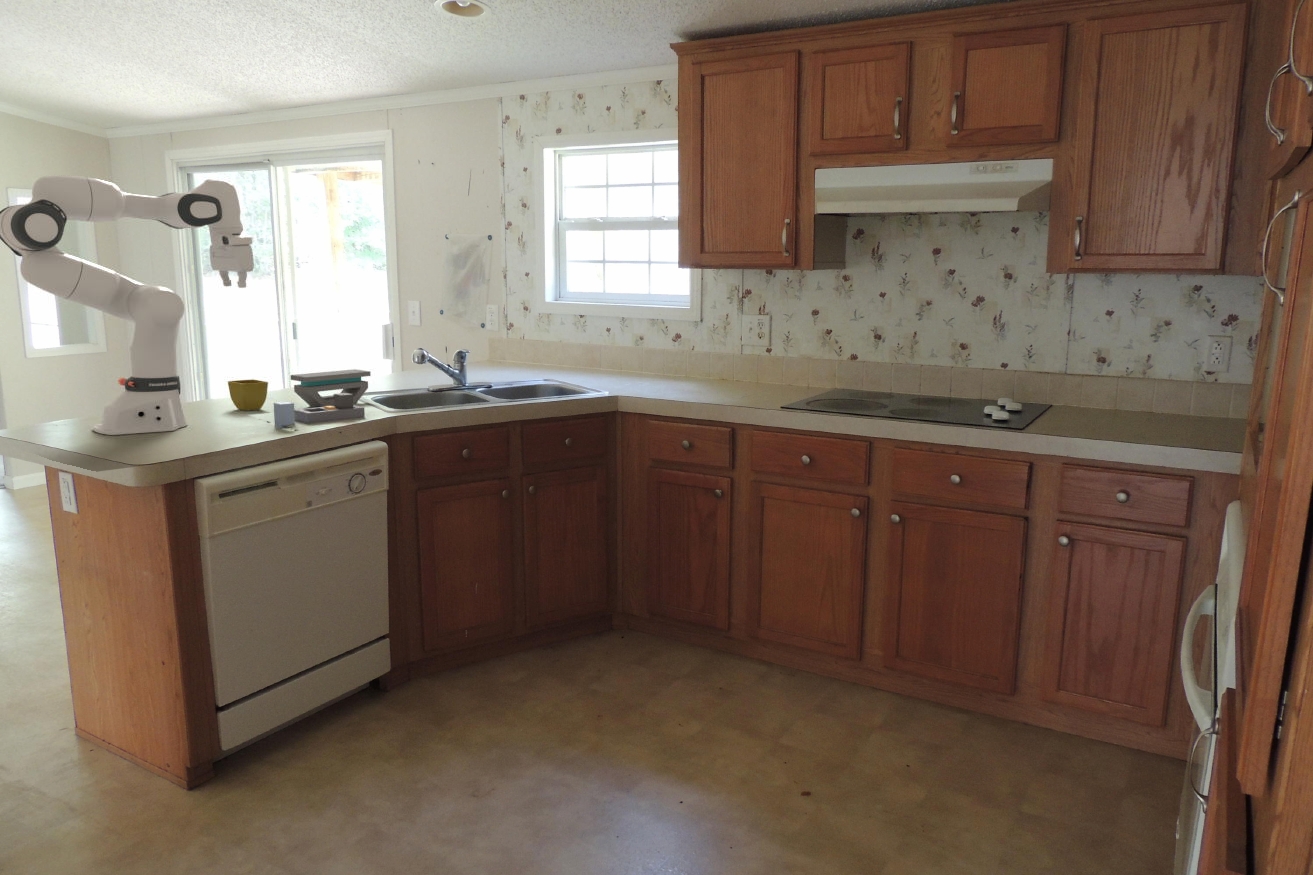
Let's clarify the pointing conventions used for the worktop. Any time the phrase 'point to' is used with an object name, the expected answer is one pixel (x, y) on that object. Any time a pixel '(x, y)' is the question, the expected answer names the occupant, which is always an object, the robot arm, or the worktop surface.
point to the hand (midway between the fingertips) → (234, 287)
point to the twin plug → (343, 400)
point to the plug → (284, 414)
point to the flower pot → (248, 393)
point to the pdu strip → (328, 414)
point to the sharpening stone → (330, 385)
